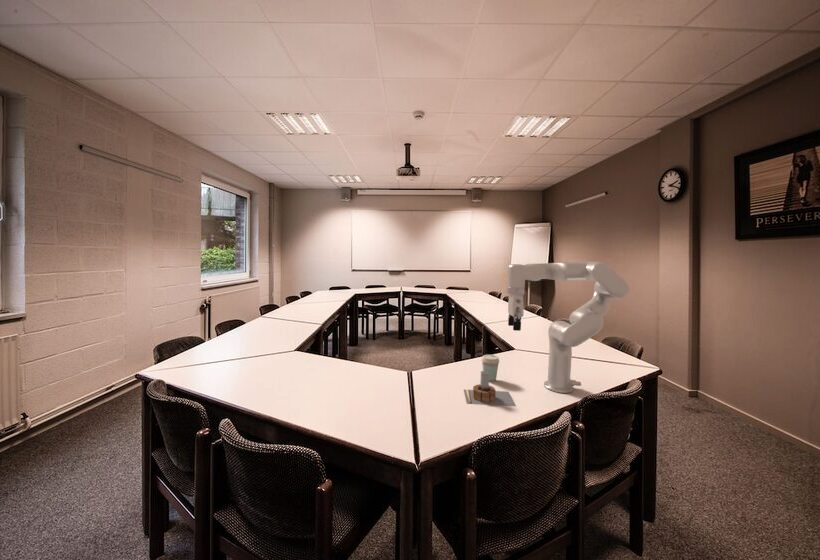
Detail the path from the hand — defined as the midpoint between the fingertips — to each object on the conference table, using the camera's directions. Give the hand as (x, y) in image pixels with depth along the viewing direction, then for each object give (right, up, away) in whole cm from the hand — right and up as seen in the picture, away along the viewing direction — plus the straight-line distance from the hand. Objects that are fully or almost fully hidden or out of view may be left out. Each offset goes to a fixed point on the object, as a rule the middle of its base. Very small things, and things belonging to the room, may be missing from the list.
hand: (514, 327), depth 148 cm
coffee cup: (-9, -28, +10) cm, 31 cm away
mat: (-14, -29, -10) cm, 34 cm away
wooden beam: (-16, -28, -11) cm, 34 cm away
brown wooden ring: (-16, -28, -11) cm, 34 cm away
